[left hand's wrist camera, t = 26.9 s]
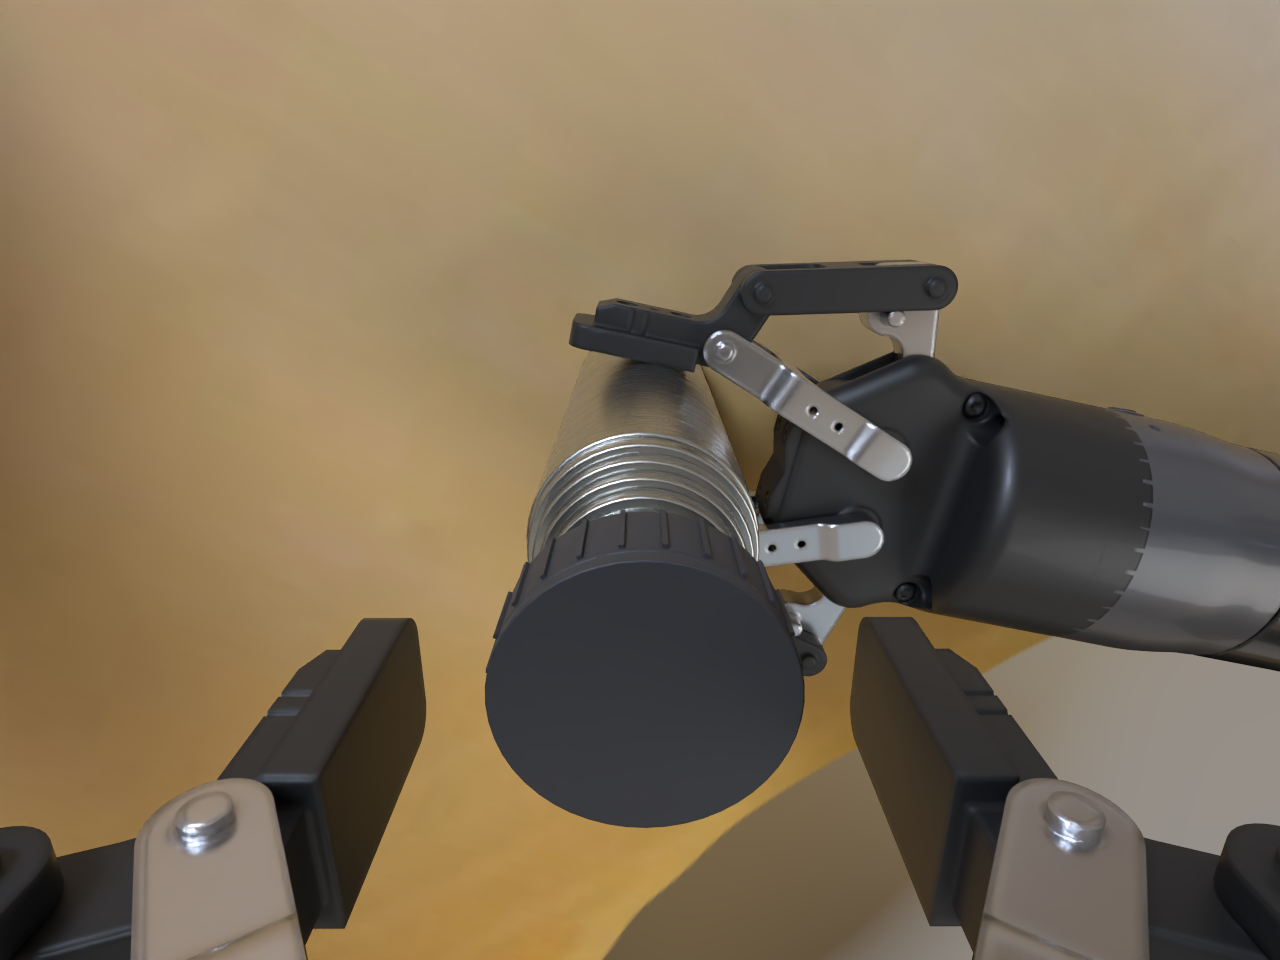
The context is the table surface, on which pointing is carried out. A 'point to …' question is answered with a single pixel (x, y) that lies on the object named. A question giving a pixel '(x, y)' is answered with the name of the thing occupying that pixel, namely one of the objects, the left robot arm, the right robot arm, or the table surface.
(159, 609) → the table surface
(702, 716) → the cap
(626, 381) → the bottle
